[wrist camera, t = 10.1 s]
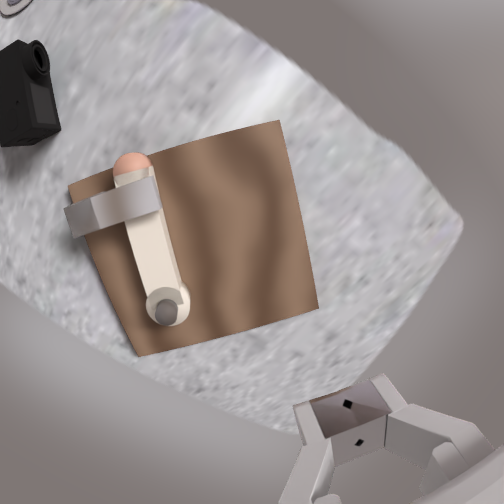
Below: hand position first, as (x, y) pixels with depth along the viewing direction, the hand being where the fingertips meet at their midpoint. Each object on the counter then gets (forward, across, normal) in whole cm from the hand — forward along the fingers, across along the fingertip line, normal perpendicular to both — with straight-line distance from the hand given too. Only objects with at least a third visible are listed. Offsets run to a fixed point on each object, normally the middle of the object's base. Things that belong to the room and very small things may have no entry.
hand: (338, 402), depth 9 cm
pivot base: (+27, -6, -2) cm, 28 cm away
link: (+25, -10, +1) cm, 27 cm away
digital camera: (+27, -18, +20) cm, 39 cm away
